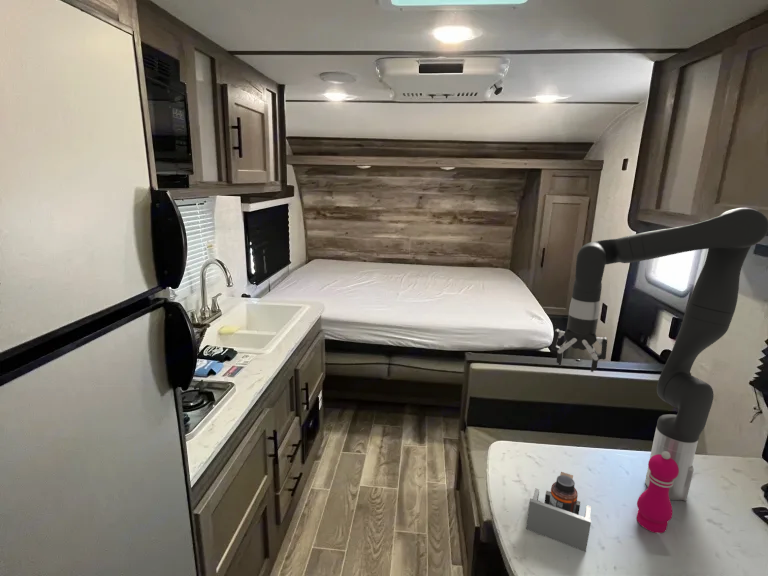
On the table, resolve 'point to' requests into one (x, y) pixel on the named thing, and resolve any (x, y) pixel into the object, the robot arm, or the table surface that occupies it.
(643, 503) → the pepper mill
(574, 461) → the table surface
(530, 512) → the grey u-shaped bracket
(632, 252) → the robot arm
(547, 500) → the scraper
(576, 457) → the table surface
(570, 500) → the supplement bottle
